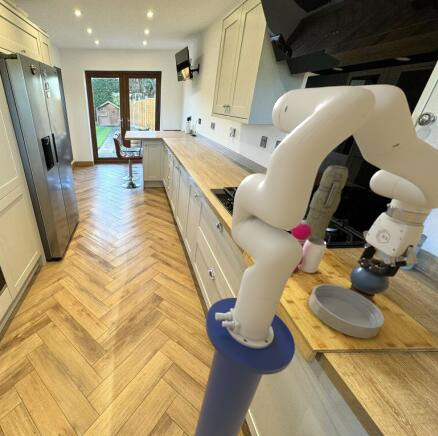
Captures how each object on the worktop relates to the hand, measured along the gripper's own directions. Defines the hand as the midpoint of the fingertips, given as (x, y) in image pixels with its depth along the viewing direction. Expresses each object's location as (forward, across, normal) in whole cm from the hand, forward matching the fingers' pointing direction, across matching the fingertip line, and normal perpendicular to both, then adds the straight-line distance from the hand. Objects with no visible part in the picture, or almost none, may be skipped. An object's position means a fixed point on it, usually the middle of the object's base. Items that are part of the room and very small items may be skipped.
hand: (375, 267), depth 71 cm
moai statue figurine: (+12, -31, +2) cm, 33 cm away
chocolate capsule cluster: (0, 0, 0) cm, 0 cm away
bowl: (+12, +8, -12) cm, 19 cm away
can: (+12, -14, -9) cm, 20 cm away
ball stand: (+12, 0, 0) cm, 12 cm away
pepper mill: (+12, -14, -16) cm, 24 cm away
